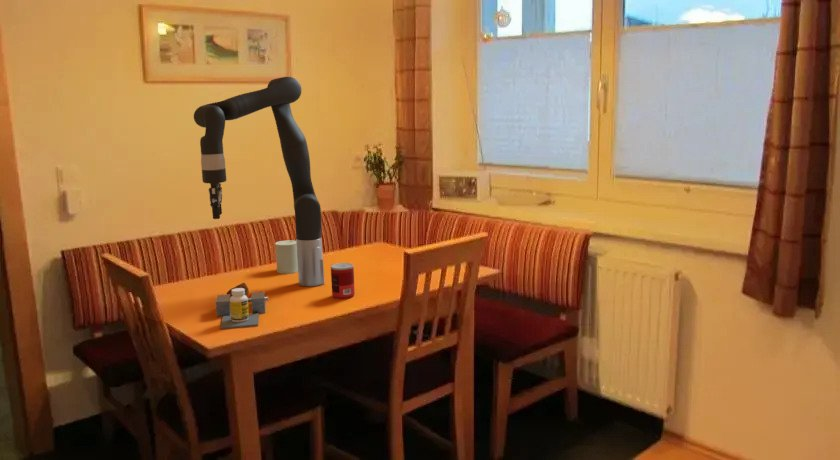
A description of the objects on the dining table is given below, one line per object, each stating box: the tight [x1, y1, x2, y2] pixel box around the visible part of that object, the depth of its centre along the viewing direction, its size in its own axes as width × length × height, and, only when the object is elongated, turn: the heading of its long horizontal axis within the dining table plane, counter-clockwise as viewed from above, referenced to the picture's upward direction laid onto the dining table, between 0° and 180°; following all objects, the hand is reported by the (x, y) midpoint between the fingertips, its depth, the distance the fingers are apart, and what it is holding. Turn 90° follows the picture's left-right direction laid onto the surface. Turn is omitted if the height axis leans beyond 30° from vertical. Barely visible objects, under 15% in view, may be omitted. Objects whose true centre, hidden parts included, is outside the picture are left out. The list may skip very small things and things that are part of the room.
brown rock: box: [225, 282, 249, 297], centre depth 243 cm, size 8×7×5 cm
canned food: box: [330, 262, 356, 300], centre depth 243 cm, size 8×8×11 cm
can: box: [274, 239, 298, 275], centre depth 279 cm, size 9×9×12 cm
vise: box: [215, 291, 269, 318], centre depth 230 cm, size 17×10×5 cm, turn 101°
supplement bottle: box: [230, 288, 250, 322], centre depth 218 cm, size 5×5×10 cm
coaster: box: [220, 313, 260, 330], centre depth 219 cm, size 11×11×1 cm
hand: (217, 216), depth 232 cm, fingers open, 8 cm apart
